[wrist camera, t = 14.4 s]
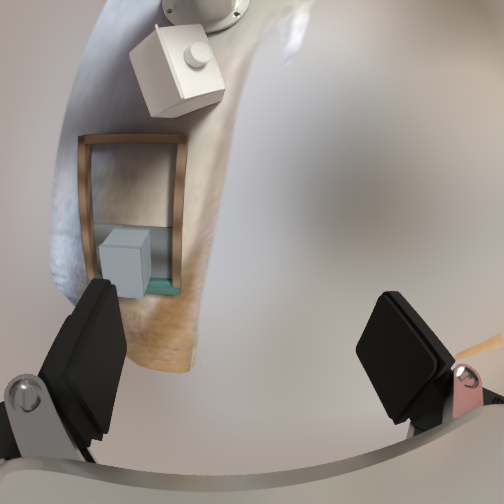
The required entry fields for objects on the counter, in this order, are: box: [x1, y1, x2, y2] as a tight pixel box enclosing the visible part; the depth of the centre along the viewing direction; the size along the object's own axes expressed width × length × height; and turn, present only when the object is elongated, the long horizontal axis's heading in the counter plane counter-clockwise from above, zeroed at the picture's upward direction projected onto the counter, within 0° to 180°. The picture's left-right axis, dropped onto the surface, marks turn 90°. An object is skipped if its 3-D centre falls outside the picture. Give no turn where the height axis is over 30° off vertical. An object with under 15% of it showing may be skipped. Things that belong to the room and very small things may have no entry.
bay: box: [78, 133, 189, 296], centre depth 39 cm, size 25×16×3 cm, turn 172°
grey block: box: [99, 227, 152, 299], centre depth 39 cm, size 8×6×7 cm
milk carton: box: [129, 24, 225, 118], centre depth 24 cm, size 7×7×19 cm
